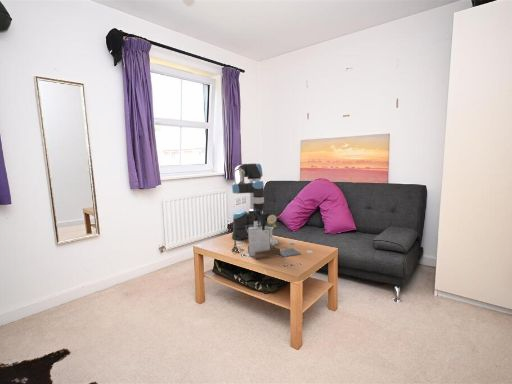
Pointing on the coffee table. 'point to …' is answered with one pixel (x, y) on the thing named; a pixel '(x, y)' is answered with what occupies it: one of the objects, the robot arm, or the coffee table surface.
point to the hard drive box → (258, 240)
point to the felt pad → (289, 252)
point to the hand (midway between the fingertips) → (259, 232)
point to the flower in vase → (272, 220)
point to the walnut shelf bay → (267, 252)
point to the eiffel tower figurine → (236, 248)
